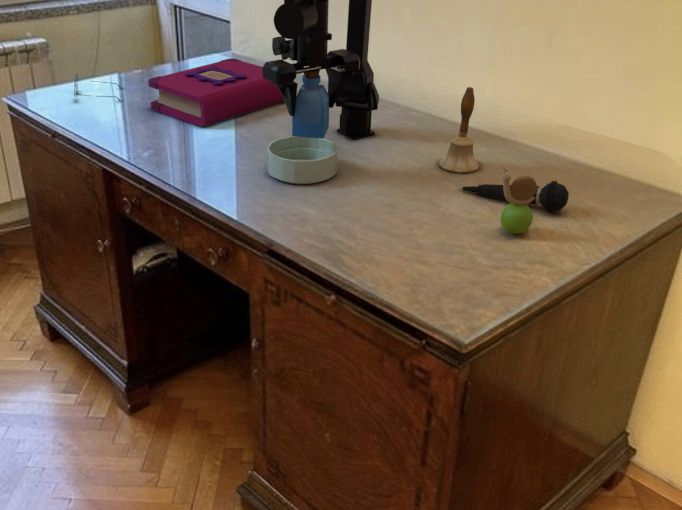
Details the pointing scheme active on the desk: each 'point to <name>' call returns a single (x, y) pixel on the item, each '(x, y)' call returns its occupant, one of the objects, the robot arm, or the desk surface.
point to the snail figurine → (518, 203)
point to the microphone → (548, 196)
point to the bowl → (302, 159)
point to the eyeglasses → (93, 81)
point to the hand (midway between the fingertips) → (311, 111)
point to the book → (214, 92)
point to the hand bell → (462, 141)
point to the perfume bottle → (311, 108)
